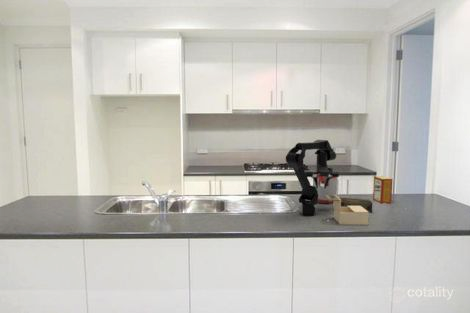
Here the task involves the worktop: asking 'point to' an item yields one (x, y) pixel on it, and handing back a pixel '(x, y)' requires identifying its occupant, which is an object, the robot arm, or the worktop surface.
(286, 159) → the robot arm
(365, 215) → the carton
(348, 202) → the beverage carton
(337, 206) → the cabinet door with handle
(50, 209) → the worktop surface
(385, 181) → the baking soda box
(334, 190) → the citrus juicer
